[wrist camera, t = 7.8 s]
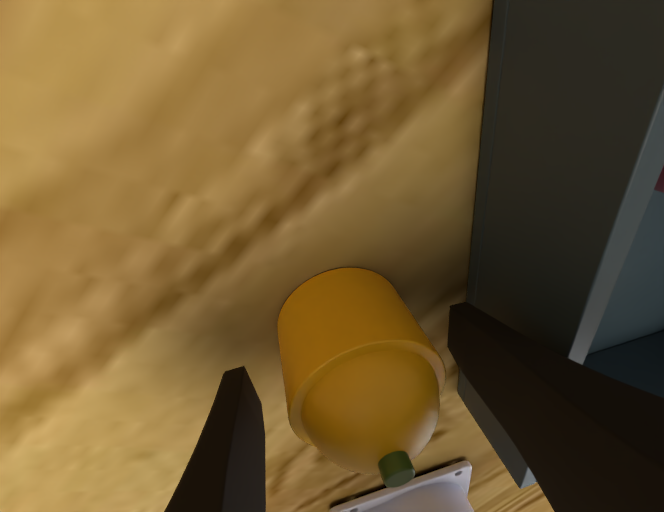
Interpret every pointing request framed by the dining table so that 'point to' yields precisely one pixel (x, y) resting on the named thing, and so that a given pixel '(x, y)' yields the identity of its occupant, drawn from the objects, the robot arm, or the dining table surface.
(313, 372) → the orange rounded piece
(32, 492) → the dining table surface
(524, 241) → the tote
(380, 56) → the dining table surface
